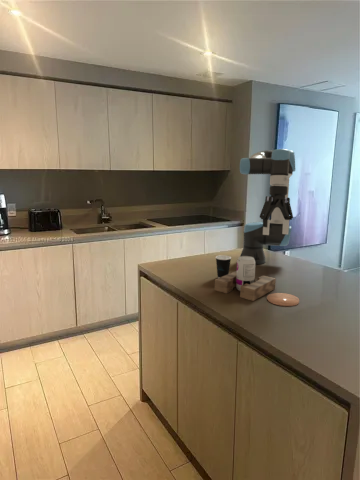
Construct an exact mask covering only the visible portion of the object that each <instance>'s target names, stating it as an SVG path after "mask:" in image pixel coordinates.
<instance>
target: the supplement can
mask: <svg viewBox="0 0 360 480" xmlns="http://www.w3.org/2000/svg"><path fill="white" fill-rule="evenodd" d="M236 271H237V276H236V287H235V288H236V290H237V291H239V292H240V288H241V286H242V285H244V284H252V283H254V282H256V281H255V280H256V278H255V277H256V264H255V260H254V258H253V257H250V256H240V255H239V256H238V257H237V260H236Z"/></svg>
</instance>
